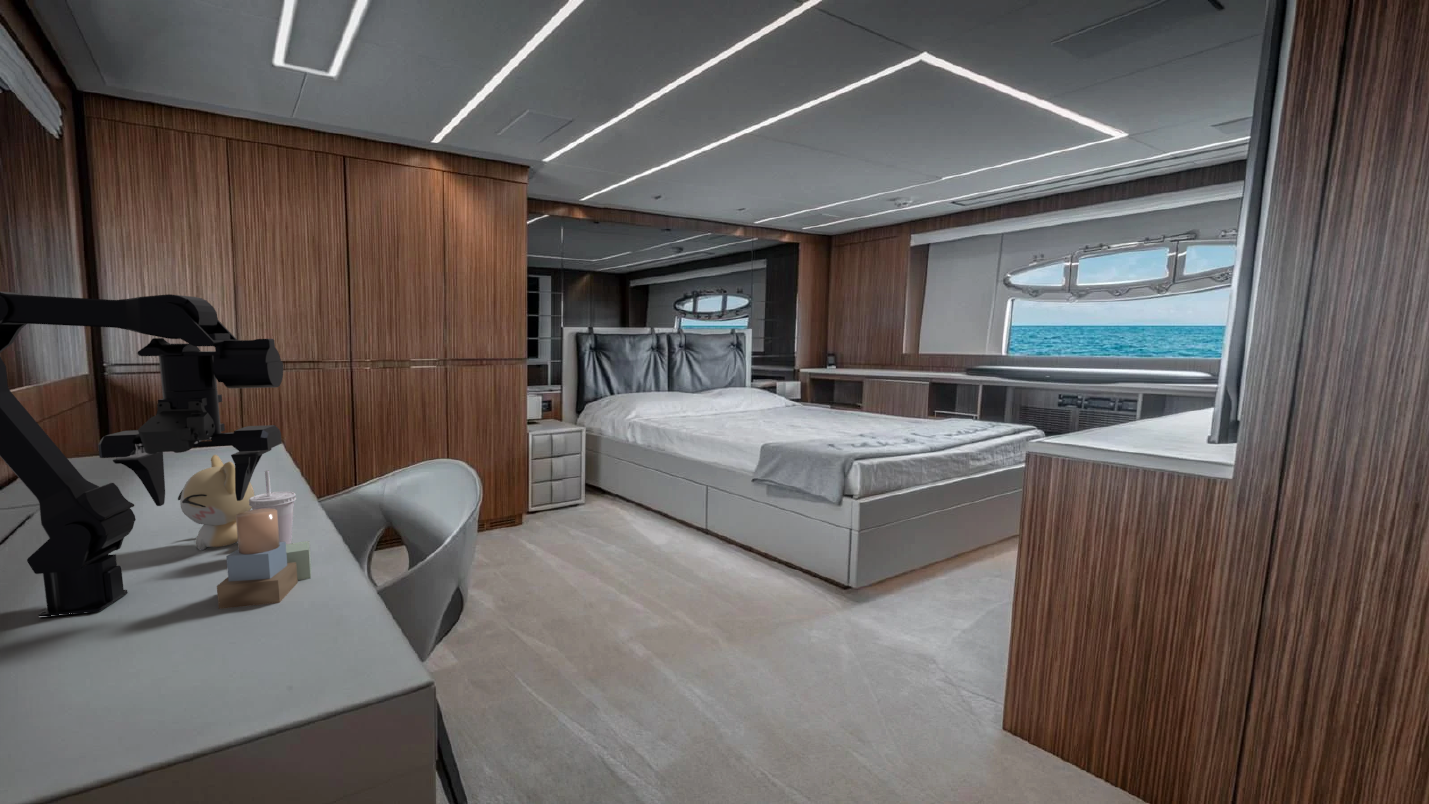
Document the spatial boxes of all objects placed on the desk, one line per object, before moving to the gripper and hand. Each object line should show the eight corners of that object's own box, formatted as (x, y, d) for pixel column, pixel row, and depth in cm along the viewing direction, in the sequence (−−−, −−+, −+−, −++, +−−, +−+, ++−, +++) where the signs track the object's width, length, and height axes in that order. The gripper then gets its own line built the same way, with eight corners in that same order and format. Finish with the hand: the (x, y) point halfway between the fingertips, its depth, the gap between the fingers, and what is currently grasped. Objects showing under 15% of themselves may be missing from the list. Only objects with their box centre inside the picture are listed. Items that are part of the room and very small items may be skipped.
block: (273, 585, 92) (271, 555, 91) (276, 574, 95) (273, 546, 95) (310, 578, 94) (308, 549, 93) (311, 569, 98) (309, 541, 97)
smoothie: (244, 557, 103) (236, 472, 101) (283, 544, 109) (277, 464, 107) (270, 562, 100) (263, 475, 99) (309, 549, 106) (303, 467, 105)
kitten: (174, 542, 110) (165, 457, 108) (243, 528, 118) (237, 449, 116) (194, 562, 100) (185, 469, 99) (269, 546, 108) (262, 459, 106)
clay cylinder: (232, 555, 85) (229, 519, 84) (247, 544, 89) (244, 509, 88) (272, 552, 86) (269, 516, 85) (284, 541, 90) (282, 507, 90)
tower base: (218, 611, 84) (216, 586, 83) (241, 590, 90) (239, 567, 90) (280, 605, 86) (278, 580, 85) (297, 585, 92) (296, 562, 92)
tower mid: (228, 581, 85) (226, 556, 84) (248, 567, 90) (246, 543, 89) (270, 578, 86) (268, 553, 85) (287, 565, 91) (285, 541, 90)
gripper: (61, 397, 75) (76, 525, 77) (245, 393, 80) (255, 513, 82) (119, 389, 86) (131, 502, 87) (278, 386, 91) (287, 492, 92)
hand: (200, 502), depth 87 cm, fingers open, 9 cm apart
